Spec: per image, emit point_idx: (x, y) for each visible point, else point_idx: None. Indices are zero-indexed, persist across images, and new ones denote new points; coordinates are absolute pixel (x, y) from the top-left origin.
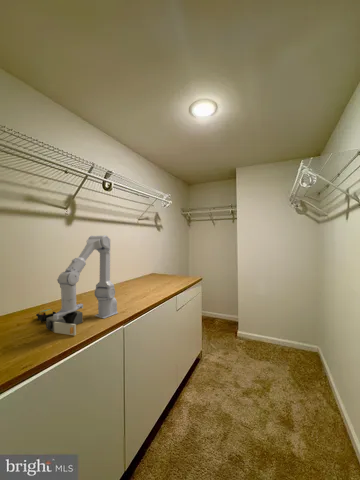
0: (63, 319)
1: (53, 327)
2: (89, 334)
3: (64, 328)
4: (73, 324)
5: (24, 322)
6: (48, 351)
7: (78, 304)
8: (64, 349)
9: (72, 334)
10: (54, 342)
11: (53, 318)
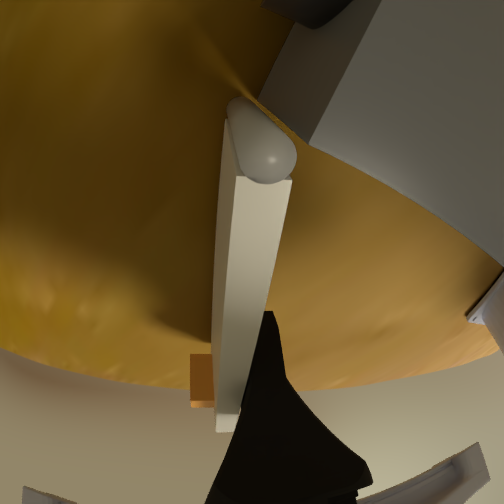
0: (439, 216)
1: (294, 56)
2: None
3: (215, 323)
4: (222, 427)
5: None
6: (20, 326)
7: (473, 489)
8: (78, 372)
9: (211, 344)
10: (78, 287)
11: (25, 496)
